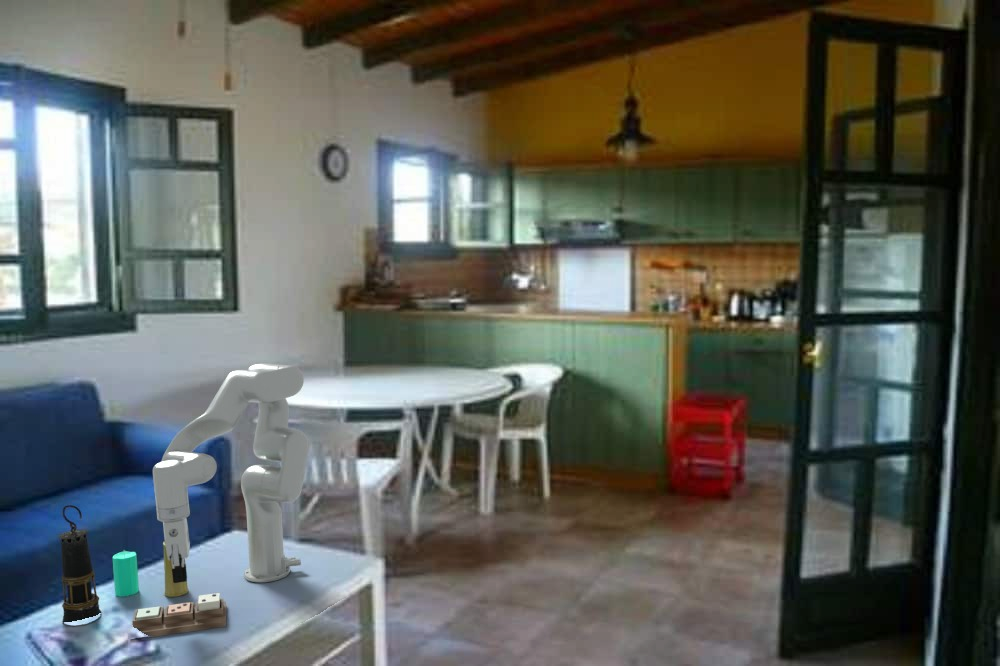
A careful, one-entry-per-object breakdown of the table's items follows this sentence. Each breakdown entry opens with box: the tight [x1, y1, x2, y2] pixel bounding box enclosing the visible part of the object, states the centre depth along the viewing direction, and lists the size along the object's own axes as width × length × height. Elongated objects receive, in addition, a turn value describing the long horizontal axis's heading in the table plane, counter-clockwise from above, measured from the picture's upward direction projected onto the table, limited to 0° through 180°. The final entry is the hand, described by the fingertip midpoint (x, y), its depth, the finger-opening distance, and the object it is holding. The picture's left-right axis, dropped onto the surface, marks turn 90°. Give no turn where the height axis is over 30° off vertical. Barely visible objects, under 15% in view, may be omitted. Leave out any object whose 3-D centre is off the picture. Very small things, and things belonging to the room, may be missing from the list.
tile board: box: [131, 597, 227, 638], centre depth 220 cm, size 22×12×4 cm, turn 107°
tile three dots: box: [168, 602, 191, 615], centre depth 220 cm, size 5×5×3 cm
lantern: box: [57, 504, 102, 623], centre depth 222 cm, size 9×9×30 cm
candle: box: [111, 550, 140, 597], centre depth 239 cm, size 6×6×12 cm
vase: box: [162, 541, 189, 598], centre depth 238 cm, size 6×6×14 cm
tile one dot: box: [136, 605, 161, 620], centre depth 218 cm, size 5×5×3 cm
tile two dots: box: [197, 592, 221, 611], centre depth 222 cm, size 5×5×3 cm
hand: (180, 580), depth 220 cm, fingers closed
